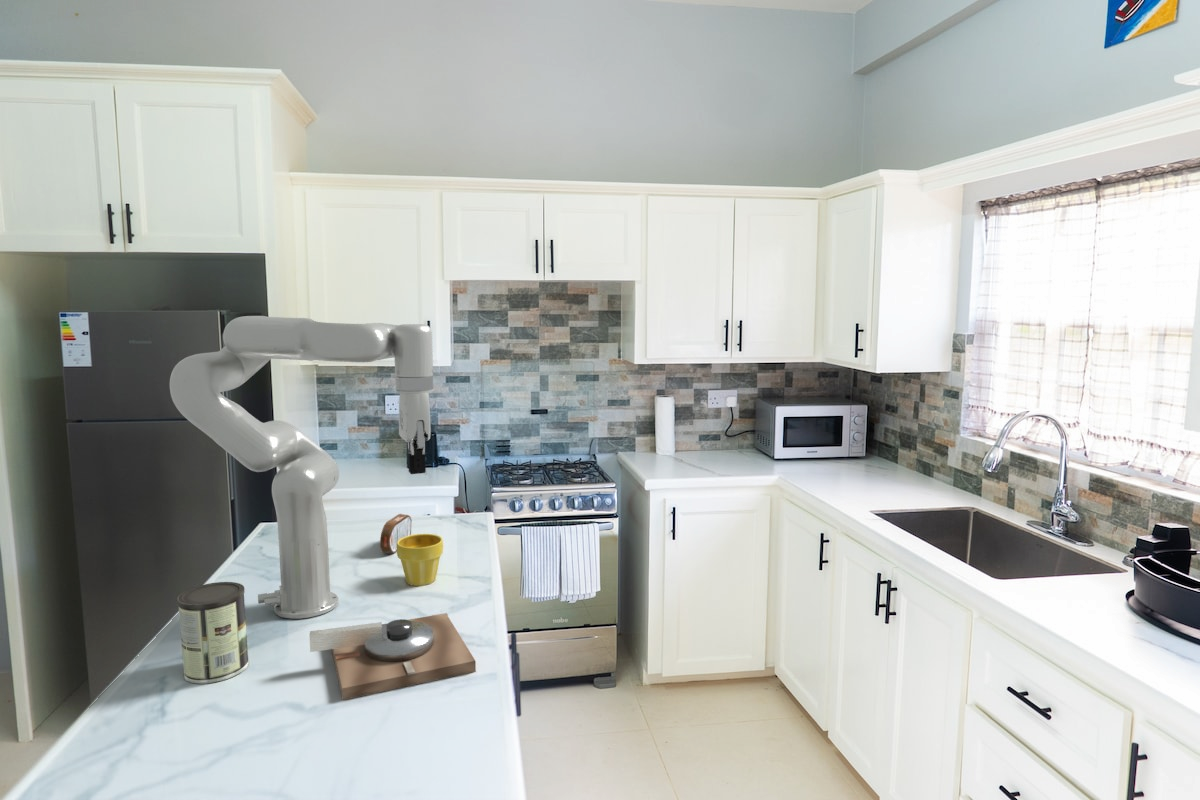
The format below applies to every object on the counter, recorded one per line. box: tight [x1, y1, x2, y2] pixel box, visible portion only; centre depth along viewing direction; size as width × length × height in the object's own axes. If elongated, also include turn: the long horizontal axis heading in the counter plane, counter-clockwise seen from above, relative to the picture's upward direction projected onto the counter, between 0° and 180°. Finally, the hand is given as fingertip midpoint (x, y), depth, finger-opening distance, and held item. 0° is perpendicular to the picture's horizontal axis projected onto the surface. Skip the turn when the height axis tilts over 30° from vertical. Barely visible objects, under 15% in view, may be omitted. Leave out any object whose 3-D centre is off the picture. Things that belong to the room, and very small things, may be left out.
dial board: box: [331, 612, 477, 701], centre depth 131 cm, size 22×22×2 cm
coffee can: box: [176, 581, 250, 685], centre depth 126 cm, size 10×10×14 cm
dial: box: [309, 619, 434, 662], centre depth 130 cm, size 21×12×4 cm, turn 108°
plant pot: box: [396, 533, 444, 587], centre depth 168 cm, size 10×10×10 cm
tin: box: [379, 513, 413, 554], centre depth 191 cm, size 15×3×8 cm, turn 172°
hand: (417, 472), depth 150 cm, fingers closed
